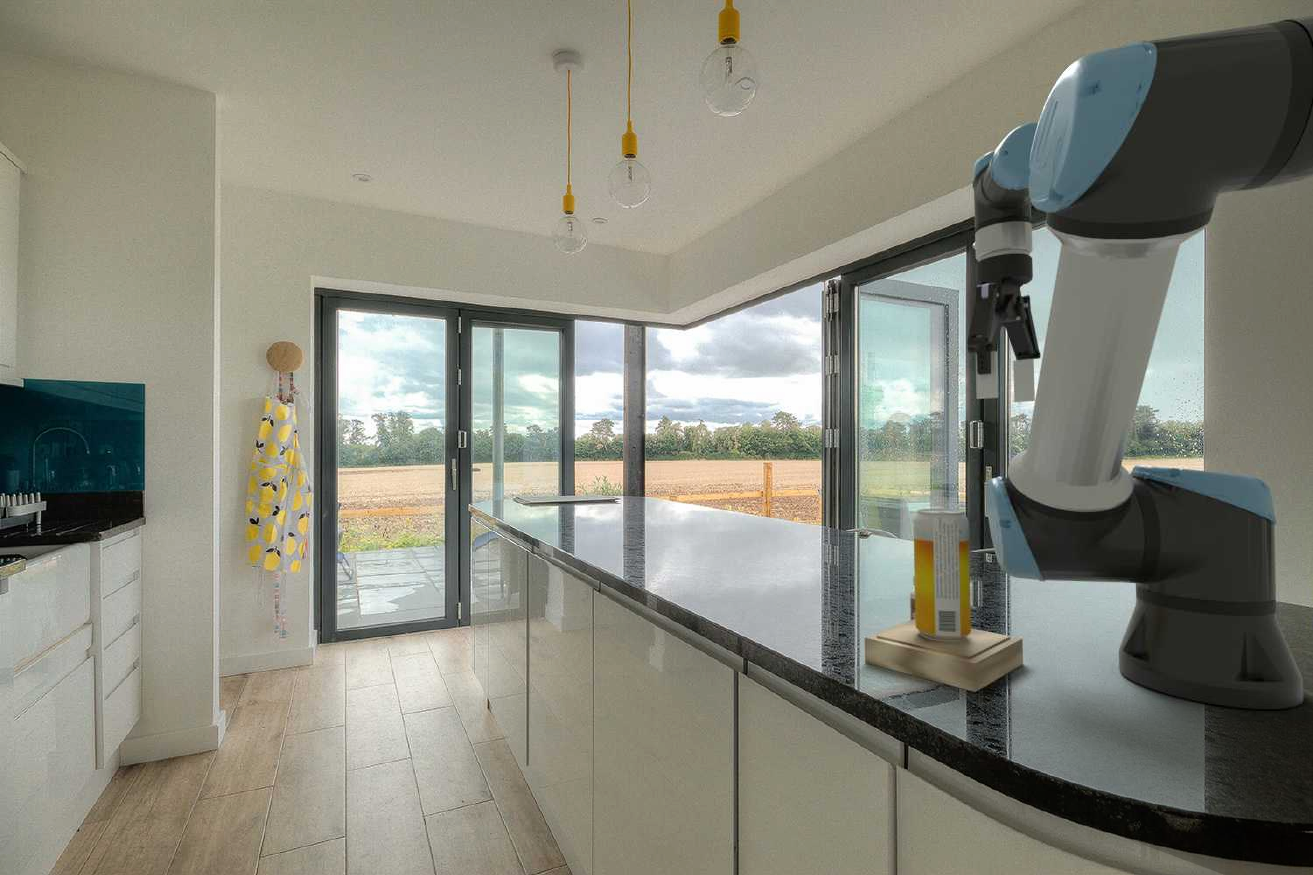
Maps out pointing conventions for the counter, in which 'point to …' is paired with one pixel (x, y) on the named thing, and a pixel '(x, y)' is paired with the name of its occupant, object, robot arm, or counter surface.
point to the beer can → (942, 574)
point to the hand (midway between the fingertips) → (1006, 400)
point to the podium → (945, 655)
